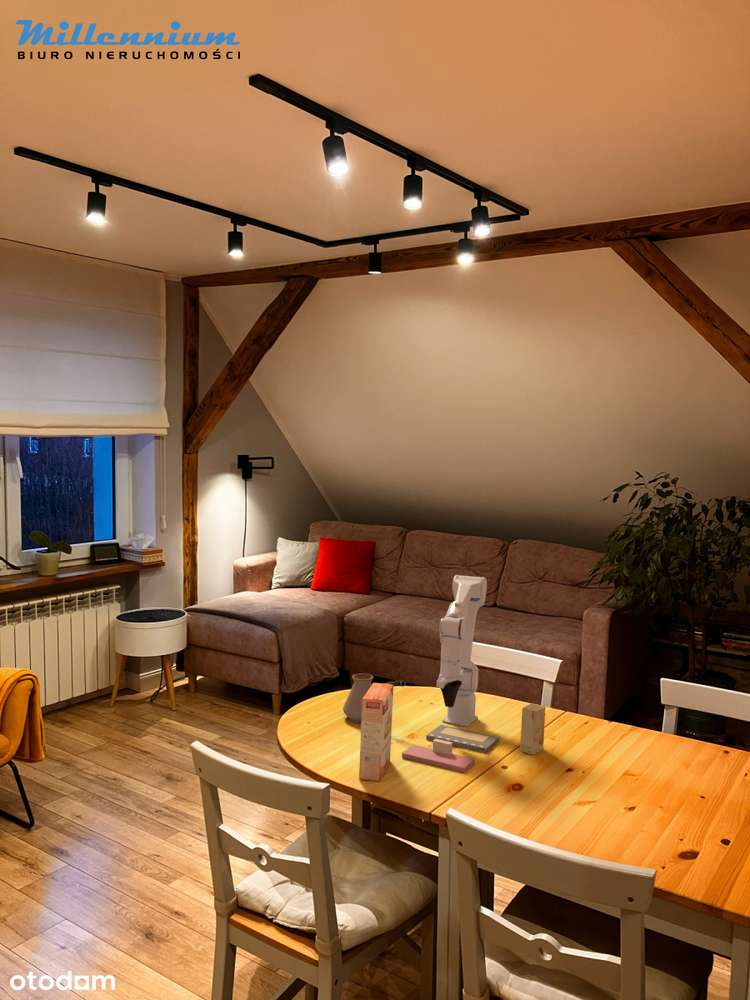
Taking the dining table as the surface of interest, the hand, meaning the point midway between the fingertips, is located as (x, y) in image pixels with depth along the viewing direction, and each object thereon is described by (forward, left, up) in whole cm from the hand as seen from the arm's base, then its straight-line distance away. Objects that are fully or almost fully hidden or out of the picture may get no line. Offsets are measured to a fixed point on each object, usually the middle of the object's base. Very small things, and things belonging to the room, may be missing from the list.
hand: (449, 706), depth 232 cm
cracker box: (+30, -7, -10) cm, 32 cm away
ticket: (-1, +4, -9) cm, 10 cm away
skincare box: (-5, +23, -10) cm, 25 cm away
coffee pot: (0, -24, -10) cm, 26 cm away
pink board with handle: (+16, +4, -9) cm, 19 cm away
